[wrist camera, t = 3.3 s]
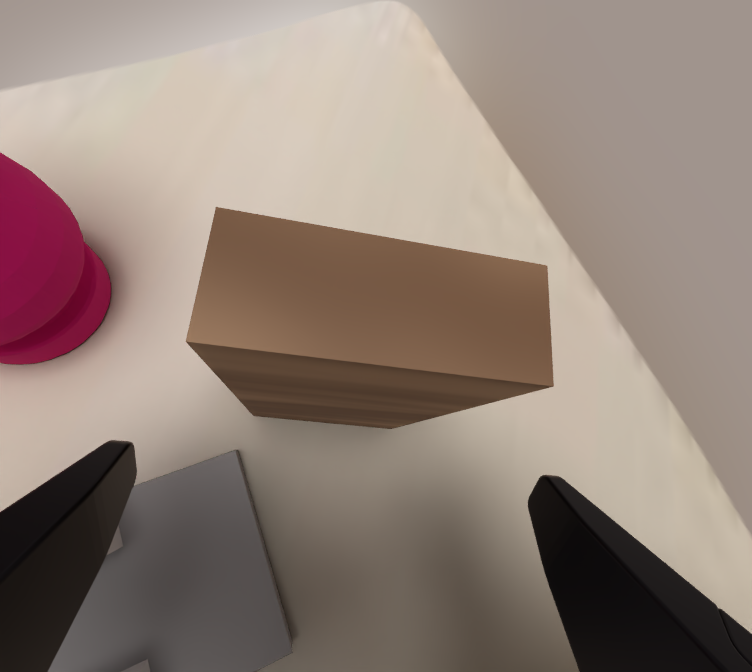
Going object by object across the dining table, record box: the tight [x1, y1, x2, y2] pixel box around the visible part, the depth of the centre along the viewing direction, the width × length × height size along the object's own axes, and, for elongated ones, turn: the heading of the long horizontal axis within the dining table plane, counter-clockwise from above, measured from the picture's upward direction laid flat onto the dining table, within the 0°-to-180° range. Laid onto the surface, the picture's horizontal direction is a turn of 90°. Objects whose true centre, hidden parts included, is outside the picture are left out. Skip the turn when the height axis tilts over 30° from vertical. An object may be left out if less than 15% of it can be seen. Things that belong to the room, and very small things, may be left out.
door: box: [186, 207, 554, 429], centre depth 14 cm, size 4×6×13 cm, turn 85°
